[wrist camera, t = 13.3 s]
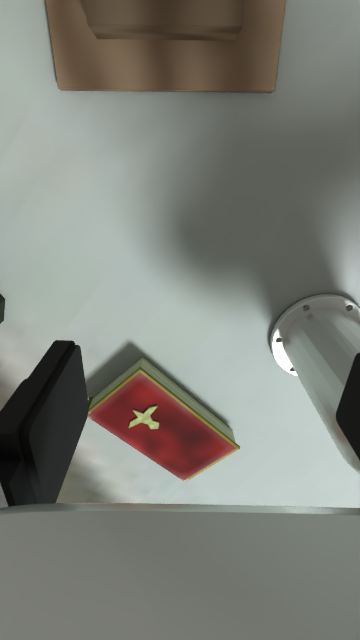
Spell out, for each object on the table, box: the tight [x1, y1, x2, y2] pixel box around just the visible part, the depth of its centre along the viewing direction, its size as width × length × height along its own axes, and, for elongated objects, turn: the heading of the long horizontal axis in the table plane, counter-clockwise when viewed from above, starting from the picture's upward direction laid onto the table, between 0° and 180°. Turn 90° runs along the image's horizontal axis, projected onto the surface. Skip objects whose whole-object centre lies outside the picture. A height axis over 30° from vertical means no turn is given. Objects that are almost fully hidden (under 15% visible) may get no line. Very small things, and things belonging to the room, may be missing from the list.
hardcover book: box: [87, 357, 240, 482], centre depth 47 cm, size 12×21×4 cm, turn 44°
